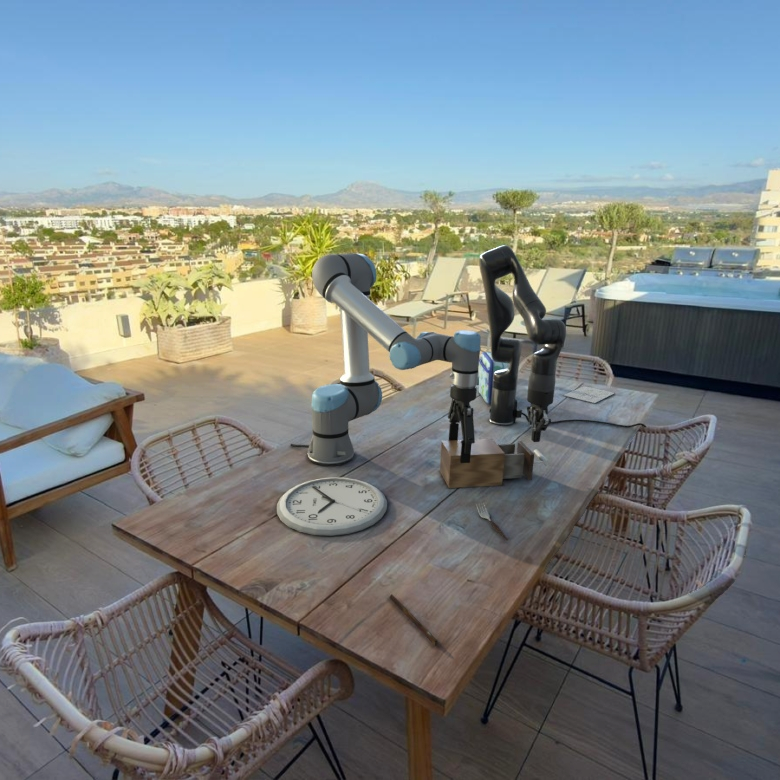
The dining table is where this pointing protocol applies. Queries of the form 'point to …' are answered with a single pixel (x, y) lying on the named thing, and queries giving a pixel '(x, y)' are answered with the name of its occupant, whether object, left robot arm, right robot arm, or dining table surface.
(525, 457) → the drawer
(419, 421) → the dining table surface
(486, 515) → the fork
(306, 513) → the wall clock
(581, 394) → the invitation card
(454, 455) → the cabinet
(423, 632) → the dark brown rod
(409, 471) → the dining table surface
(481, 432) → the dining table surface
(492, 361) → the lunch box
